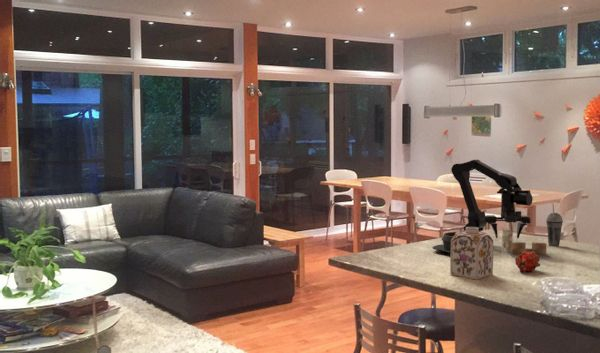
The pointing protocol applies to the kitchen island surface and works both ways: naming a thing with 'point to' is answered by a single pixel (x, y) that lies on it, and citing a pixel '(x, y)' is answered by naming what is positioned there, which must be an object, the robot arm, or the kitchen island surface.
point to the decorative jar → (471, 254)
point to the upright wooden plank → (507, 238)
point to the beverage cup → (554, 228)
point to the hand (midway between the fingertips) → (507, 238)
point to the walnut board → (521, 247)
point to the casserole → (445, 242)
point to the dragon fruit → (527, 261)
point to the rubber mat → (538, 255)
